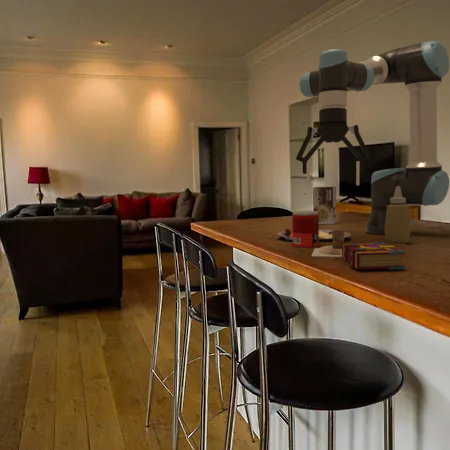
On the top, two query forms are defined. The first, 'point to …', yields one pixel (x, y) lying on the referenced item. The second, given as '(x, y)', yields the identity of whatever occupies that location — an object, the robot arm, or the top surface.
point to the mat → (317, 253)
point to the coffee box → (325, 204)
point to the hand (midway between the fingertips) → (332, 185)
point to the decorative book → (372, 256)
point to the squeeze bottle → (397, 219)
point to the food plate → (323, 235)
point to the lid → (334, 244)
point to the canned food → (305, 229)
